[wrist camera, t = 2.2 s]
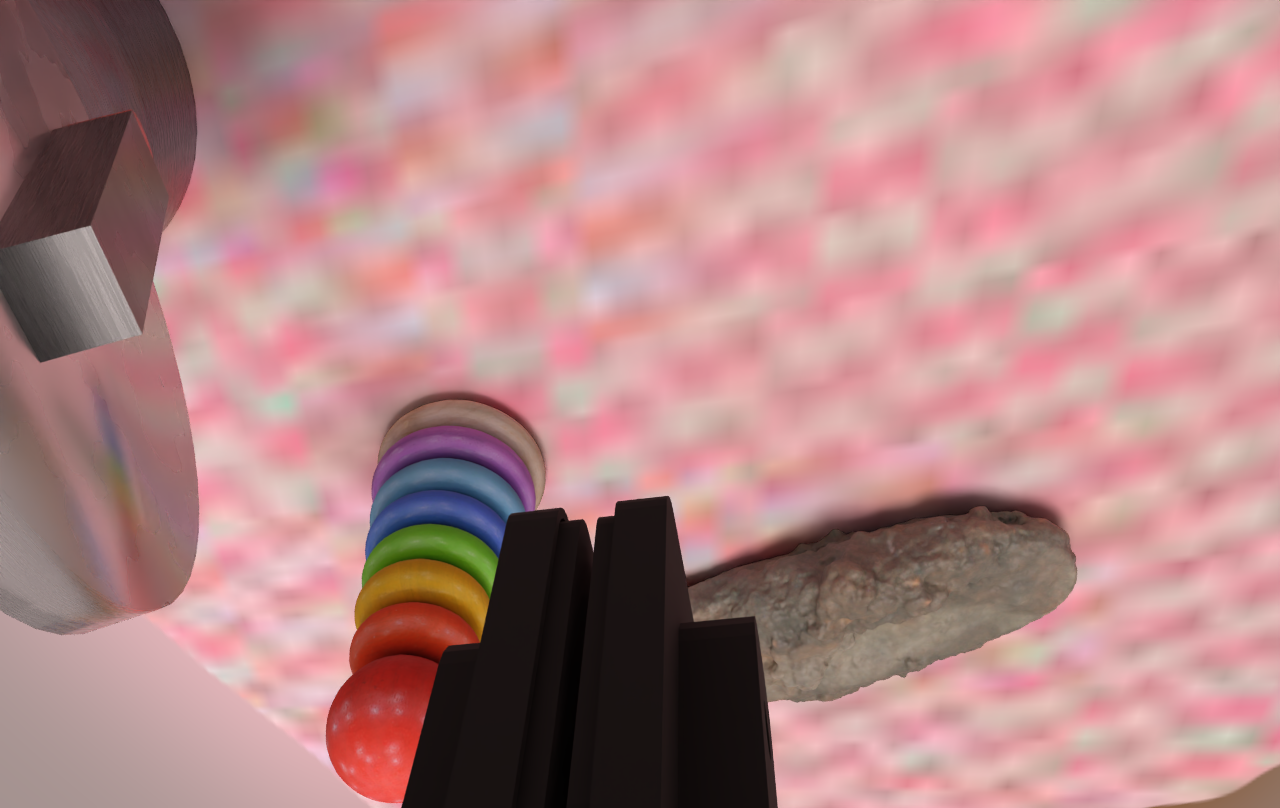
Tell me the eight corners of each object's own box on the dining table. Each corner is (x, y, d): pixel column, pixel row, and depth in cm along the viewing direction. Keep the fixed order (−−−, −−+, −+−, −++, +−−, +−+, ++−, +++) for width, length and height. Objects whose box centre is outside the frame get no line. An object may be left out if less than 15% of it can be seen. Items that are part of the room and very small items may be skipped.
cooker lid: (-597, -196, 12) (-247, -257, 13) (-129, -202, 27) (21, -230, 27) (102, 813, 22) (280, 749, 22) (160, 396, 36) (266, 365, 37)
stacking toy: (475, 549, 55) (391, 886, 39) (350, 457, 52) (205, 782, 36) (581, 464, 52) (536, 794, 36) (455, 361, 49) (346, 671, 33)
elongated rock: (407, 620, 60) (491, 724, 65) (383, 697, 56) (475, 801, 61) (1044, 452, 50) (1082, 591, 55) (1074, 531, 46) (1112, 673, 51)
